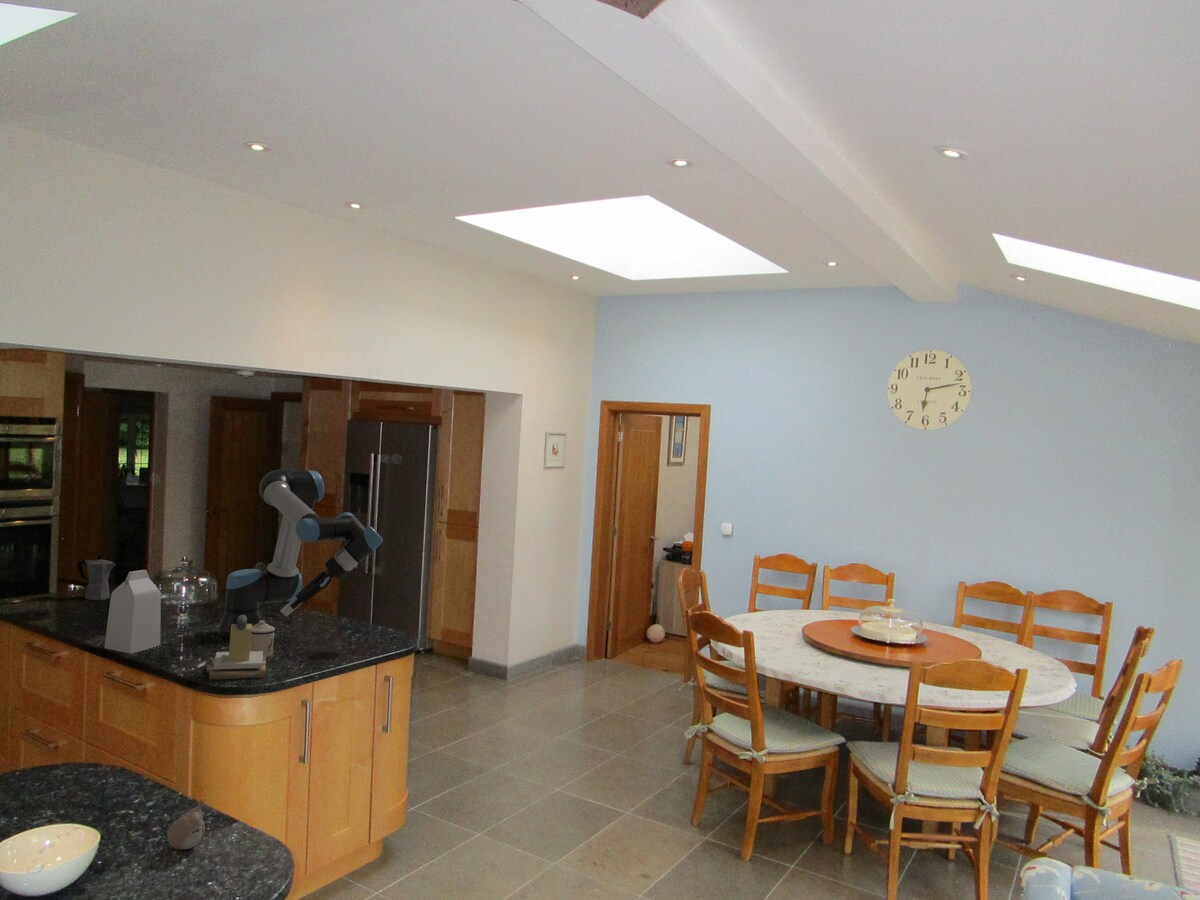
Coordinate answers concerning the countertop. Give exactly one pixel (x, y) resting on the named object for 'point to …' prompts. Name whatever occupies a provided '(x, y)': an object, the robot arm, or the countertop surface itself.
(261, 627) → the teacup with lid
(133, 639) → the milk
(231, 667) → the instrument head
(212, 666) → the brown layered stack
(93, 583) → the coffeepot
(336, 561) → the robot arm
